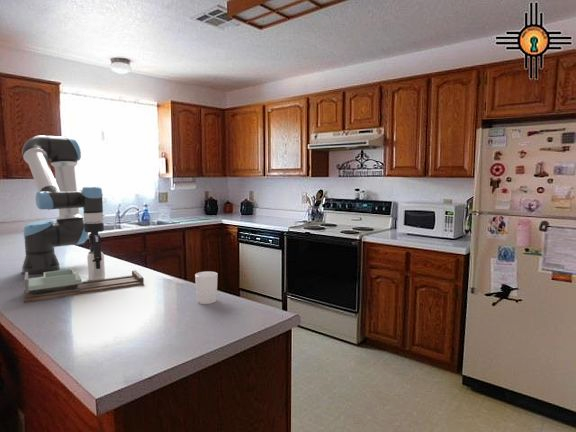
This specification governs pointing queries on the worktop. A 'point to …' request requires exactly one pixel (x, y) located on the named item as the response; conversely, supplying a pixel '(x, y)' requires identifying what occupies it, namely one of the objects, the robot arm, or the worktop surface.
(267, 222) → the worktop surface
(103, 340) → the worktop surface
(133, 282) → the track
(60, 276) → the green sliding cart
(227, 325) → the worktop surface
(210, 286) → the white cup
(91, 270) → the can
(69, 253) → the worktop surface
